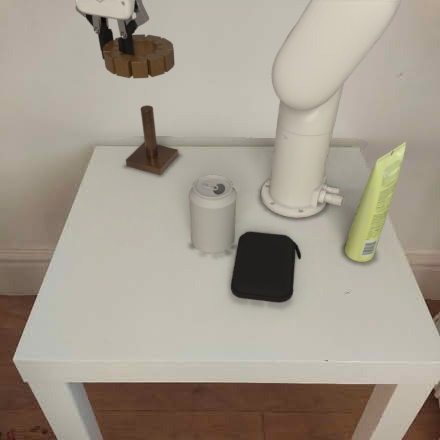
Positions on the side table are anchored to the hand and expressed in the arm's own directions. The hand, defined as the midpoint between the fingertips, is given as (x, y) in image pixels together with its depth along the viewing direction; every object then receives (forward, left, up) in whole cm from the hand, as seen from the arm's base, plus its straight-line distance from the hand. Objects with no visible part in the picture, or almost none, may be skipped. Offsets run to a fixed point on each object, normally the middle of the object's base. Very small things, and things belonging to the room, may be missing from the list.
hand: (118, 57), depth 79 cm
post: (-3, -3, -21) cm, 22 cm away
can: (-25, +15, -22) cm, 36 cm away
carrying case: (-36, +18, -22) cm, 45 cm away
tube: (-49, +7, -22) cm, 54 cm away
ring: (-4, 0, 0) cm, 4 cm away
